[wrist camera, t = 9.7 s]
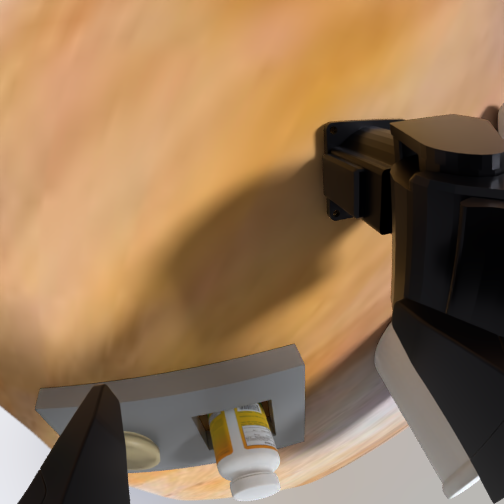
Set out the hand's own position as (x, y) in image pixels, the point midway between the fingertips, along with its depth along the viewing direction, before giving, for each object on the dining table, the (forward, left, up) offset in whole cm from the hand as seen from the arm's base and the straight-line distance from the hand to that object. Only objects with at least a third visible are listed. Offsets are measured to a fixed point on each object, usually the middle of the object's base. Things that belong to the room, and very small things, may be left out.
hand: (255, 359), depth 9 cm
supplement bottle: (+2, +20, -12) cm, 23 cm away
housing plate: (+7, +20, -12) cm, 24 cm away
